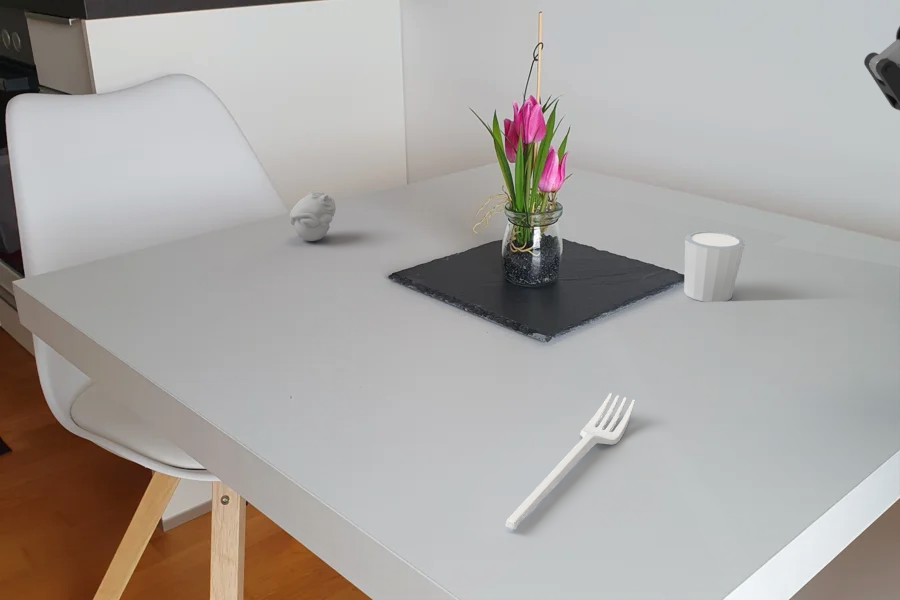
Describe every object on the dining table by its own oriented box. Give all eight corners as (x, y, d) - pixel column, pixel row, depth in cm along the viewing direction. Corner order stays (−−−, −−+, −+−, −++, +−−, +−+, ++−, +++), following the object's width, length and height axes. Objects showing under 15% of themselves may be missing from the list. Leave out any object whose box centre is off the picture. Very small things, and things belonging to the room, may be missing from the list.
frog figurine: (346, 238, 121) (344, 192, 119) (307, 250, 117) (304, 201, 114) (320, 230, 125) (317, 184, 123) (281, 240, 120) (278, 193, 118)
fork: (489, 524, 61) (490, 502, 60) (604, 409, 76) (605, 391, 75) (529, 540, 59) (530, 518, 58) (638, 419, 74) (640, 401, 74)
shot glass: (714, 309, 97) (722, 252, 95) (667, 291, 102) (673, 237, 100) (748, 295, 101) (757, 240, 99) (701, 279, 106) (708, 226, 104)
